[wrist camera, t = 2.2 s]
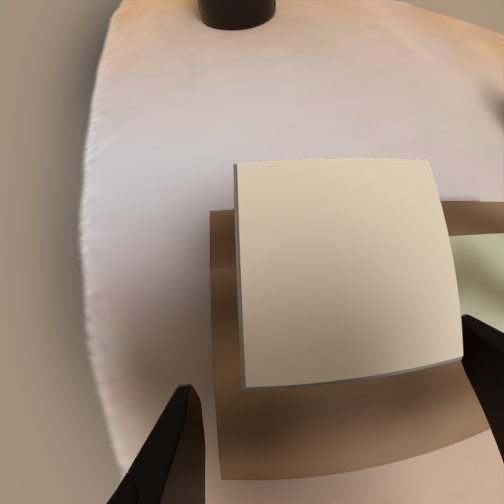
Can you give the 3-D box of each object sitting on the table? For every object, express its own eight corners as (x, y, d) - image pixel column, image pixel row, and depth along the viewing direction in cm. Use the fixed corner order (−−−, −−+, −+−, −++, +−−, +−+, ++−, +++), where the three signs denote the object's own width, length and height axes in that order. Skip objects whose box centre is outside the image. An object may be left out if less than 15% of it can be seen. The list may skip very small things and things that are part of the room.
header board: (504, 405, 15) (528, 410, 12) (228, 461, 17) (220, 480, 14) (486, 216, 20) (507, 201, 17) (218, 228, 21) (209, 210, 18)
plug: (337, 346, 18) (466, 359, 5) (263, 352, 19) (240, 392, 5) (331, 274, 20) (430, 156, 6) (260, 279, 20) (232, 159, 6)
